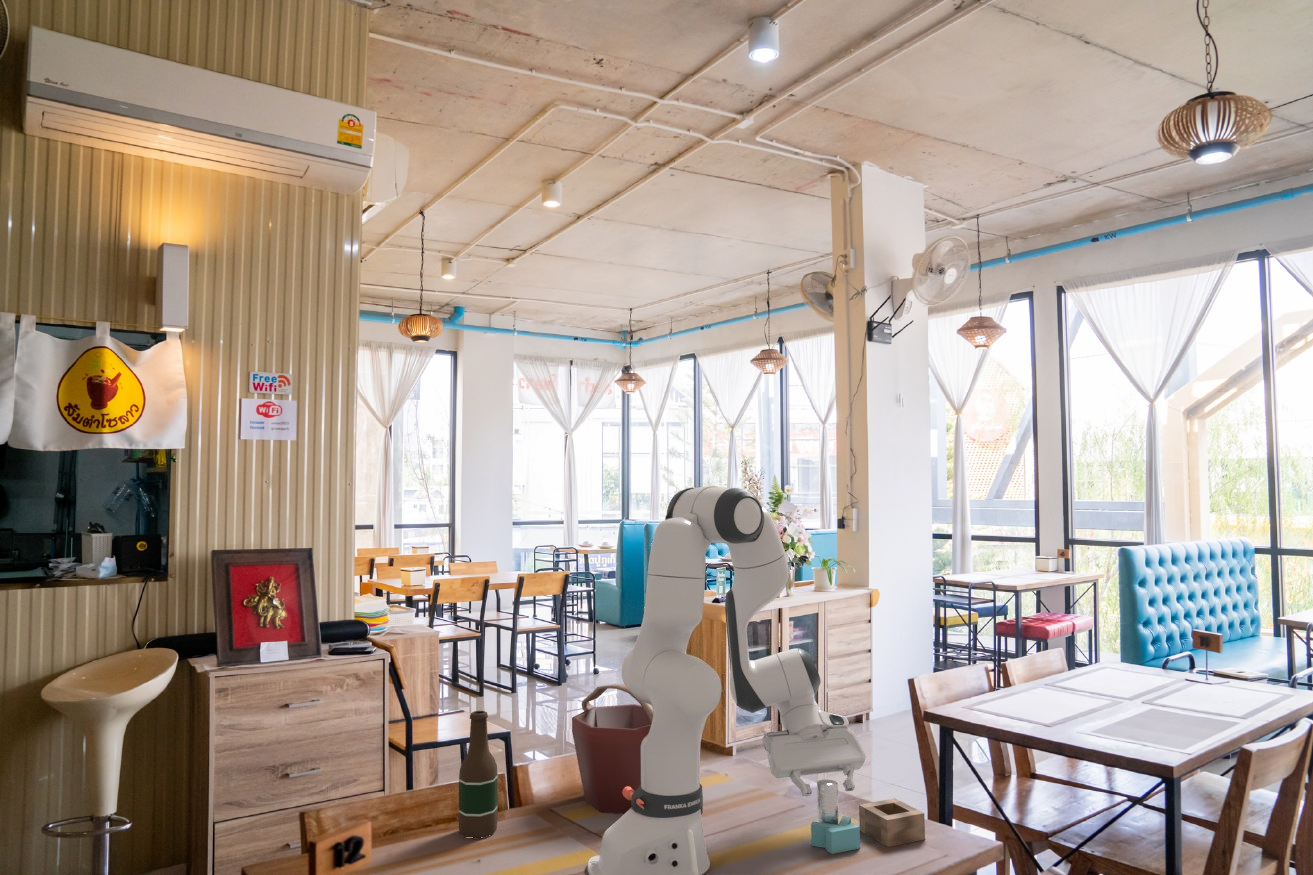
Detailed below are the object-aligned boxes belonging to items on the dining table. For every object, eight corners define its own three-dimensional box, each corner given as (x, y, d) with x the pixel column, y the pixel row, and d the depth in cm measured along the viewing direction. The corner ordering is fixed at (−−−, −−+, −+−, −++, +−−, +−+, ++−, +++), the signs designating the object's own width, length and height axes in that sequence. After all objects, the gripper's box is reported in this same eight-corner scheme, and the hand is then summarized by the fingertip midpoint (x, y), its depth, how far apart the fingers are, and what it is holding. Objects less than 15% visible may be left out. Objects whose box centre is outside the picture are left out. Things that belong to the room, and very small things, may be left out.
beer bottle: (450, 835, 169) (451, 714, 171) (475, 822, 176) (476, 705, 178) (480, 842, 165) (481, 718, 167) (505, 828, 172) (505, 709, 174)
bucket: (559, 792, 194) (559, 682, 196) (644, 776, 204) (643, 672, 206) (603, 827, 172) (603, 704, 174) (695, 808, 183) (694, 691, 185)
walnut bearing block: (887, 846, 162) (887, 820, 162) (859, 829, 170) (858, 804, 170) (925, 839, 165) (924, 813, 165) (895, 823, 173) (895, 798, 174)
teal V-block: (825, 855, 158) (824, 833, 158) (808, 843, 163) (807, 822, 164) (866, 846, 162) (865, 825, 162) (848, 835, 167) (847, 815, 167)
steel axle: (825, 845, 162) (824, 787, 163) (814, 837, 166) (813, 781, 167) (842, 842, 164) (841, 784, 165) (831, 834, 168) (830, 778, 168)
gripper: (764, 724, 170) (785, 789, 160) (853, 716, 176) (880, 779, 166) (755, 741, 174) (776, 805, 164) (843, 732, 180) (868, 794, 170)
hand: (829, 792), depth 165 cm, fingers open, 8 cm apart
